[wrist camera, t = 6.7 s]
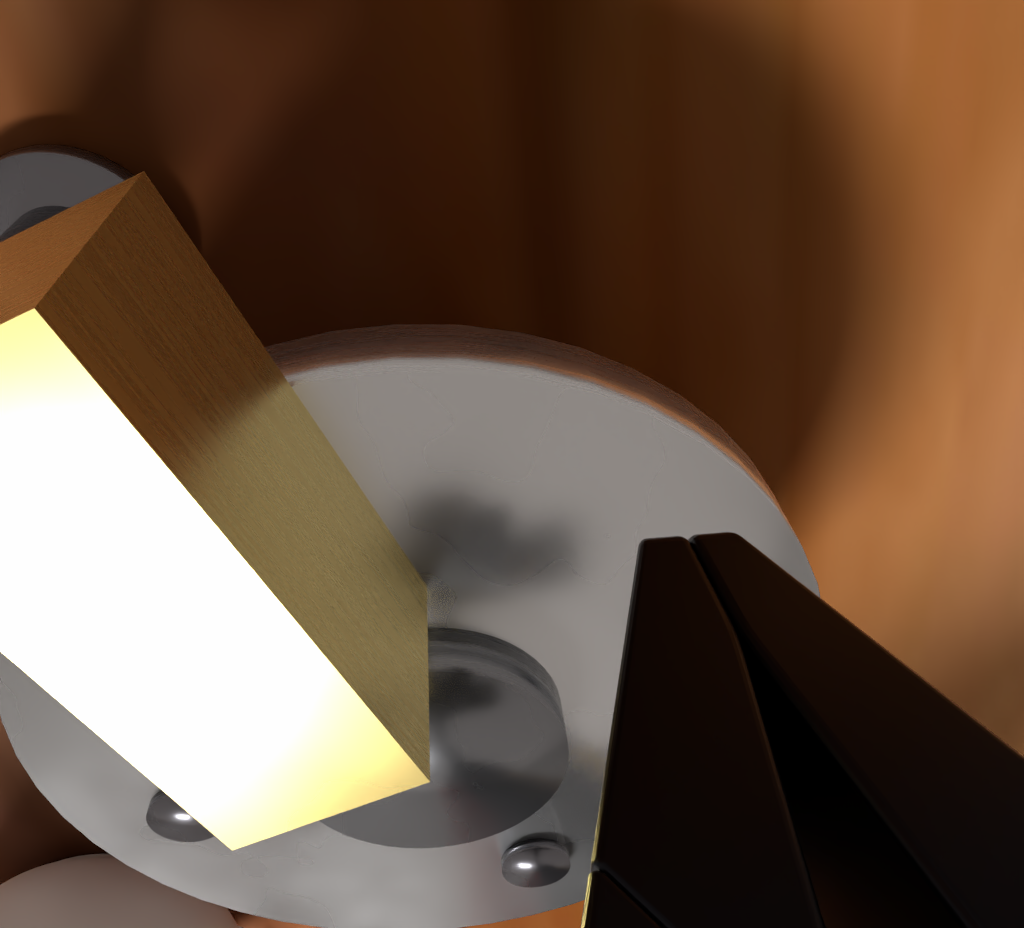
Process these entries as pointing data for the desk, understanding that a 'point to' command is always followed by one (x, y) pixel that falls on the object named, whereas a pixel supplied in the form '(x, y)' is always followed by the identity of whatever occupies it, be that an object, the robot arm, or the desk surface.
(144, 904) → the teacup
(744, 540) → the robot arm
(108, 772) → the flange plate
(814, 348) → the desk surface
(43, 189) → the flanged pin
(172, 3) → the desk surface
